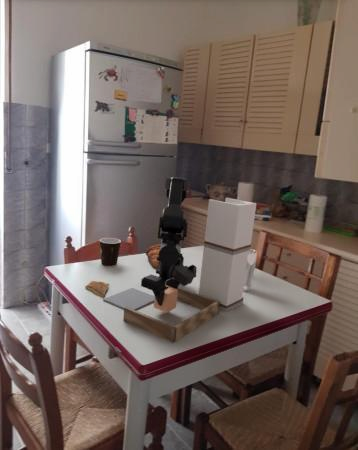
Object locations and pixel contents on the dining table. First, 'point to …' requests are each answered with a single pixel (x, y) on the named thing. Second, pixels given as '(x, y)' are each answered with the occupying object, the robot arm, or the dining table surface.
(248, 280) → the beer glass
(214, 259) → the banded white pillar
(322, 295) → the dining table surface
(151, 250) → the pastry
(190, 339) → the dining table surface
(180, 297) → the walnut u-shaped frame
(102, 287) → the shard
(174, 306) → the terracotta block
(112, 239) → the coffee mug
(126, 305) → the slate mat
